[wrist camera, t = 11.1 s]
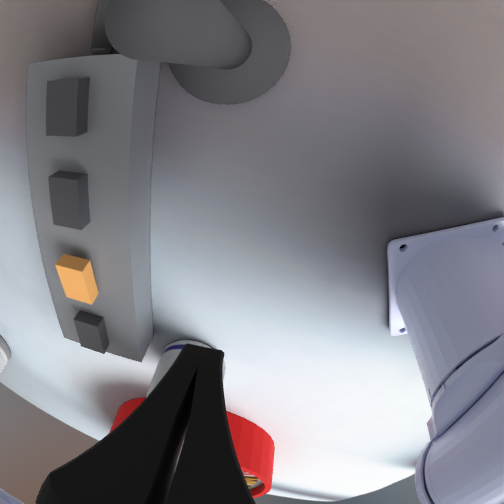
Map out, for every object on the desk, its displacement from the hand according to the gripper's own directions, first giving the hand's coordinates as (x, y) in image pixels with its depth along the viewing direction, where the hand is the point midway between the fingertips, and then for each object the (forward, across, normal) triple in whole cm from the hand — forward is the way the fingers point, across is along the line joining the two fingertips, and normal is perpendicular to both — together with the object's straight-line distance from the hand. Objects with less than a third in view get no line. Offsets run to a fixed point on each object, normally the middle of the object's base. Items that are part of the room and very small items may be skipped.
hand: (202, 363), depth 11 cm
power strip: (+9, +9, -4) cm, 13 cm away
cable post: (+9, +2, -11) cm, 14 cm away
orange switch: (+6, +9, +2) cm, 11 cm away
